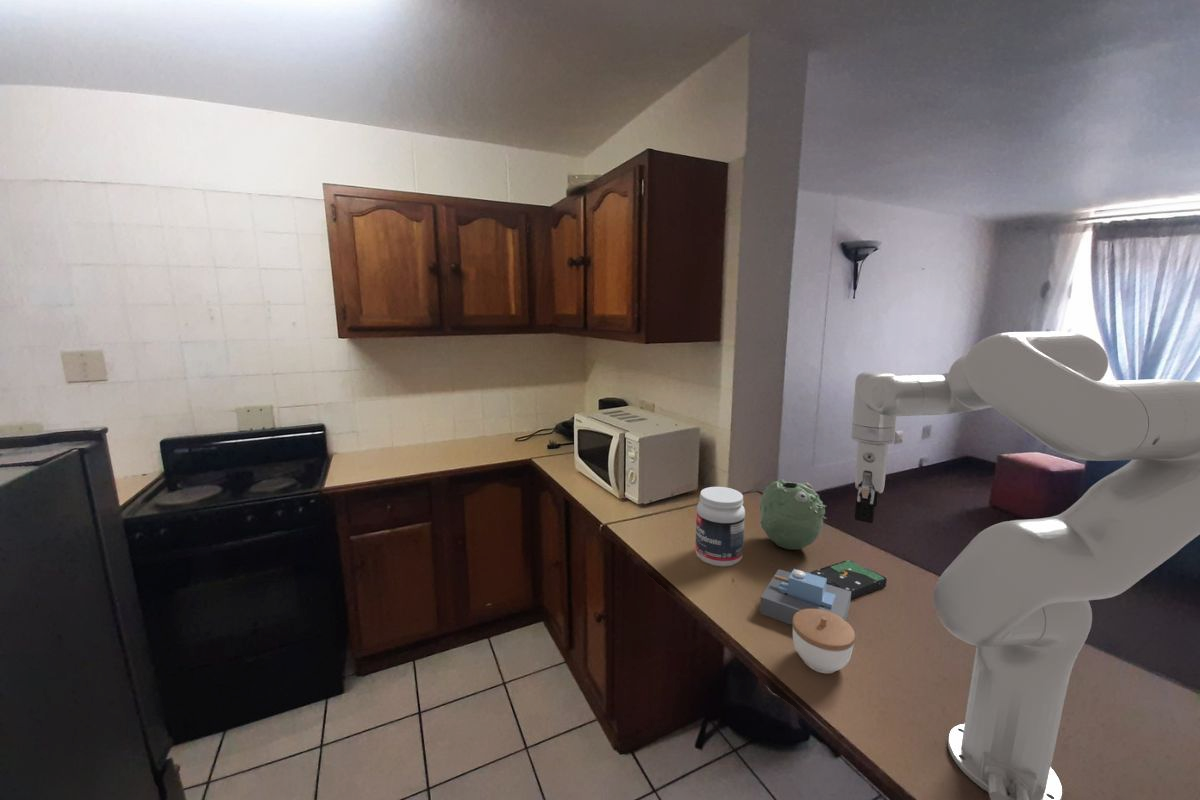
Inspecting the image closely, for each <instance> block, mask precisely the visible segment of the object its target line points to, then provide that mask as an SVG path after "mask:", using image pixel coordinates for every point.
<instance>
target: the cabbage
mask: <svg viewBox="0 0 1200 800" xmlns="http://www.w3.org/2000/svg"><path fill="white" fill-rule="evenodd" d="M820 498H821V497H820V494H818V493H817V492H816V490H814V487H813V485H812V484H811V483H810V482H806V481H805V482H803V483H801V482H800V483H799V482H795V481H793V482H792V481H790V480H788V481H786V480H784V479H783V478H781V479H780V480H777V481H772V482H771V483H770V484H768V485H767V487H766V486H765V488H764V490H763V493H762V496H761V500H760V502H759V503H760V504H759V512H760V524H761V529H762V530H763V531H764V532H765V534H766V536H767V537H768V538H769V539H770V540H771V541H772V542H773V543H774V544H776V545H777V546H778V547H779V548H783V549H786V550H801V549H804V548H806V547H808V546H810V545H811V544H813V543H814V542H815V541H817V539H818V538H819V536H820V534H821V531H822V527H823V524H824V520H827V519H828V518H827V517H825V515H826V508H827V505H825V504H824V502H823V501H822V500H821V499H820Z"/></svg>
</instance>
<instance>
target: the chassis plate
mask: <svg viewBox="0 0 1200 800" xmlns="http://www.w3.org/2000/svg"><path fill="white" fill-rule="evenodd" d="M791 573H792V572H789V571H786V570H783V569H777V571H776V572H775V574H774V576H775V575H778V576H781V577H784V578H787V579H789V576H790V575H791ZM774 576H773V577H772V578H771V580H770V582H769V583H768V585H767V586H766V588H765V590H764V591H763V593H762V594H761V595H760V602H759V603H760V604H759V614H761V613H762V615H764V614H765V615H764V616H766V615H767V617H771V618H772V619H775V620H778V621H781V622H783V623H786V624H788V625H791V626H793V624H792V620H793V616H794V614H795V613H797V612H798V611H800V610H803V609H820V610H824V611H828V612H831V613H833V614H835V615H837V616H839V617H841V618H842V619H844V620H845V621H846V622H847V618H848V614H849V612H850V607H851V591H848V590H845V589H841V588H838V587H835V586H832V585H828V584H826V592H829V593H832V594H835V595H836V597H835V601H834V603H833V606H832V608H829V607H826V606H823V607H820V606H817V605H814V604H811V603H808V602H805V601H802V600H800V599H797V598H794V597H791V596H788V594H787V593H784V592H781V591H778V590H779V586H780V584H781V583H782V581H779V580H776V579H774Z"/></svg>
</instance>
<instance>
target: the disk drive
mask: <svg viewBox="0 0 1200 800" xmlns="http://www.w3.org/2000/svg"><path fill="white" fill-rule="evenodd" d="M810 574H813V575H817V576H820V577H823V578H827V584H828V585H832V586H835V587H838V588H841V589H845V590H848V591H851V600H854V599H855V598H858V597H861V596H864V595H866V594H869V593H871V592H875V591H876V590H880V589H882V588H886V587H887V581H888V578H887V577H885V576H884V575H881V574H879V573H877V572H876V571H874V570H872V569H870V568H868V567H864V566H863V565H861V564H859V563H857V562H855V561H854V560H852V559H850V560H849V559H848V560H842V561H840V562H837V563H834V564H830V565H827V566H825V567H821V568H818V569H815V570H812V571H810Z"/></svg>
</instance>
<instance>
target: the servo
mask: <svg viewBox="0 0 1200 800" xmlns="http://www.w3.org/2000/svg"><path fill="white" fill-rule="evenodd" d="M790 573H791V575H790V576H789V579H787V578H784V577H781V576H778V575H775V574H774V575H775V576H773V577H774V579H776V580H779V581H782V583H781V584H780V586H779V590H778V591H781V592H784V593H787V594H788V596H791V597H794V598H797V599H800V600H802V601H805V602H808V603H811V604H814V605H817V606H820V607H823V606H826V607H829V608H832V606H833V603H834V601H835V597H836V595H835V594H832V593H829V592H826V584H827V578H823V577H820V576H817V575H813V574H810V573H811V572H810V573H809V572H807V571H803V570H799V569H796V568H793V570H792V571H791V572H790Z"/></svg>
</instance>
